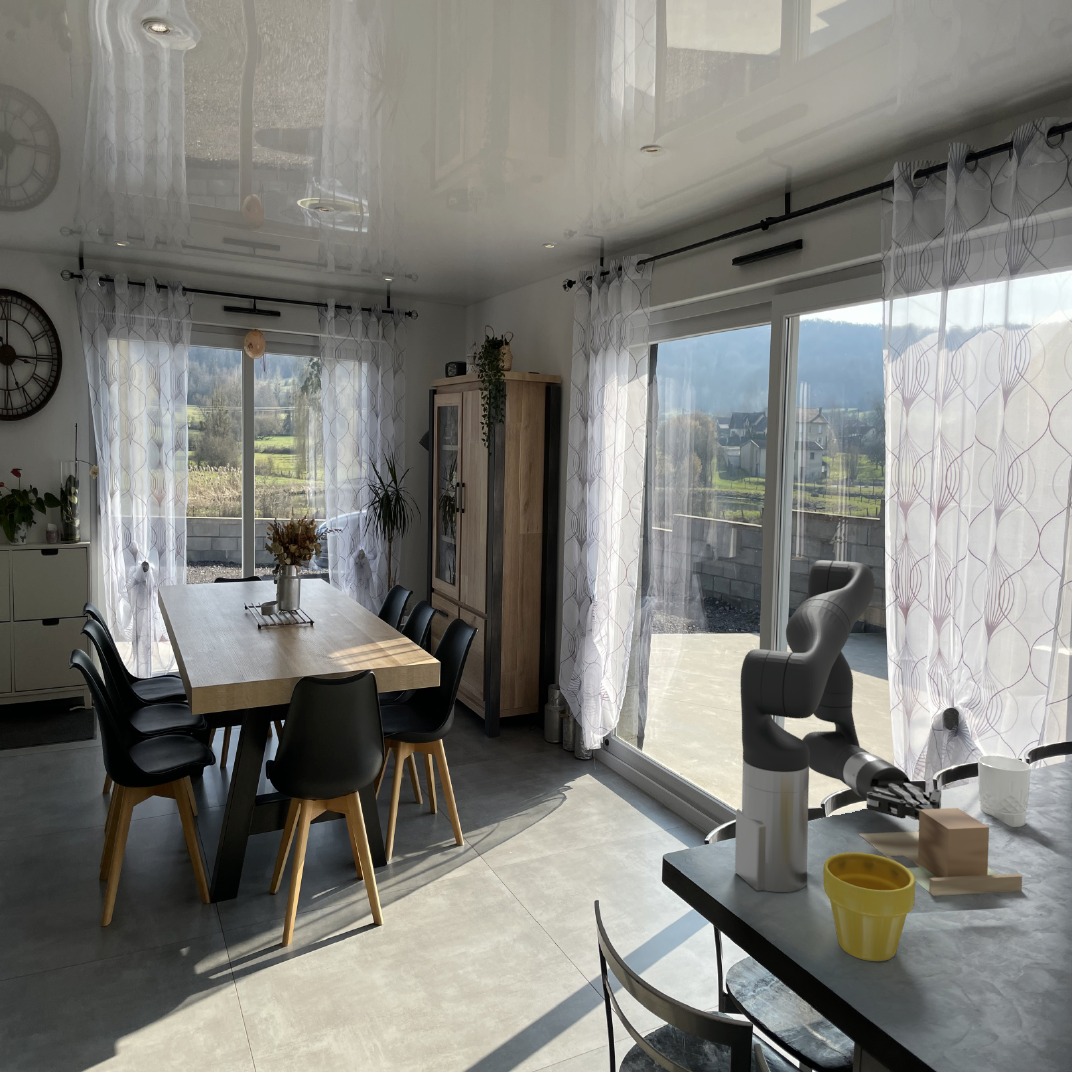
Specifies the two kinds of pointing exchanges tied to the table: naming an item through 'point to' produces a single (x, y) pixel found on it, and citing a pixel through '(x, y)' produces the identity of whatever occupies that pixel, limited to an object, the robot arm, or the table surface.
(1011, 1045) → the table surface
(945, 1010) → the table surface
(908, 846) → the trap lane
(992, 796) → the white cup
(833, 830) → the table surface
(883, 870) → the plant pot
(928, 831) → the walnut block
